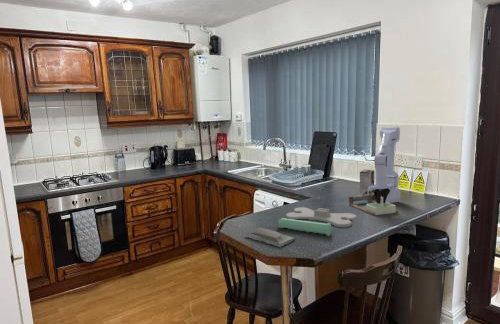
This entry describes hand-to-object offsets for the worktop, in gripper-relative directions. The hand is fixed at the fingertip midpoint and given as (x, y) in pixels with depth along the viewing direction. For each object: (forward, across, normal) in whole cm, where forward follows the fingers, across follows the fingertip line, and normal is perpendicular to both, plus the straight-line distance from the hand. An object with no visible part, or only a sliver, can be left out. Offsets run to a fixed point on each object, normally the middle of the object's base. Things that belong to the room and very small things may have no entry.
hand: (380, 202), depth 175 cm
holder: (+6, -32, +6) cm, 33 cm away
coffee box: (+6, +15, +34) cm, 37 cm away
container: (+6, -48, -8) cm, 49 cm away
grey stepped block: (+6, -66, -12) cm, 67 cm away
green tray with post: (+5, 0, 0) cm, 5 cm away
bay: (+6, 0, +8) cm, 10 cm away
